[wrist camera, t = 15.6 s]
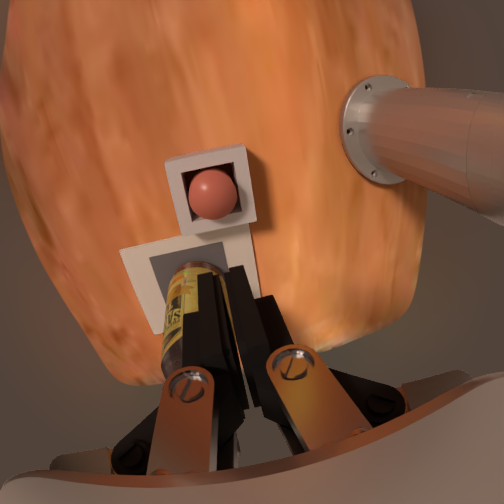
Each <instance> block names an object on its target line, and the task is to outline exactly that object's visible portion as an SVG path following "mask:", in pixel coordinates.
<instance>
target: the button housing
mask: <svg viewBox="0 0 504 504" xmlns="http://www.w3.org/2000/svg"><path fill="white" fill-rule="evenodd" d="M225 163H231V165H232V171H233V177H234V182H235V188H236V191H237V200H238V202H237V203H236V204H235V206H234V208H233V210H232V211H231V212H230V213H229V214H228V215H226V216H225V217H223V218H220V219H216V220H208V219H204V218H202V217H200V216H198V215H197V214H196V213H195V212H193V211H192V208H191V206H190V203H189V194H188V189H187V185H186V180H185V176H184V172H187V171H191V170H196V169H201V168H205V167H210V166H215V165H220V164H225ZM164 164H165V169H166V173H167V178H168V182H169V186H170V190H171V195H172V199H173V203H174V207H175V211H176V215H177V219H178V222H179V226H180V230H181V234H182V237H185V236H189V235H194V234H198V233H203V232H207V231H212V230H217V229H222V228H226V227H231V226H236V225H241V224H246V223H251V222H256V221H257V218H256V211H255V204H254V198H253V191H252V185H251V178H250V172H249V166H248V159H247V153H246V146H245V145H243V144H241V143H239V144H233V145H228V146H222V147H217V148H212V149H207V150H202V151H198V152H193V153H188V154H184V155H180V156H175V157H171V158H168V159H167V160H166V161H165V162H164Z"/></svg>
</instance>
